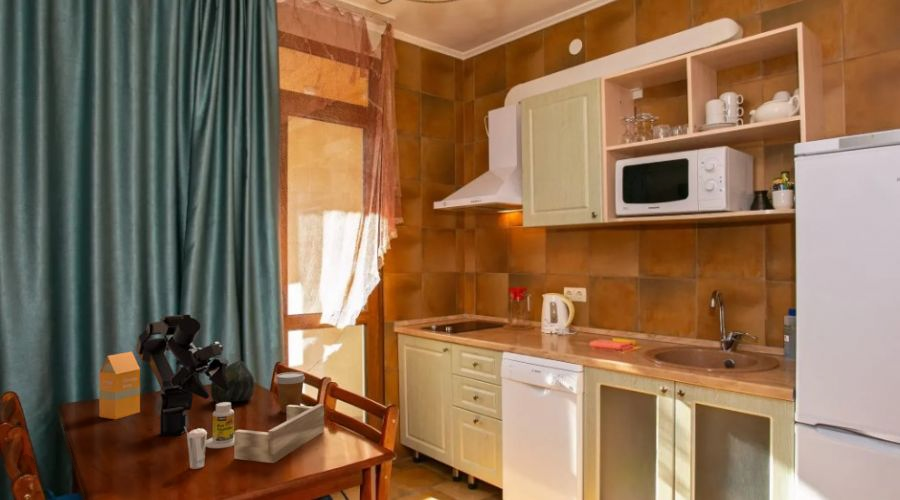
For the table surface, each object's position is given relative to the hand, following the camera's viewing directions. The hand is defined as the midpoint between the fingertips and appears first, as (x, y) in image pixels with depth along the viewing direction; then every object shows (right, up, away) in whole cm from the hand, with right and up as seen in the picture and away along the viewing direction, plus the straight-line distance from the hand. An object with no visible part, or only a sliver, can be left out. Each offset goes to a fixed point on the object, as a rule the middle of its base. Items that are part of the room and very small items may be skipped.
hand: (218, 394), depth 155 cm
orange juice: (-43, -14, +26) cm, 52 cm away
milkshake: (+2, -13, -19) cm, 23 cm away
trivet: (+2, -13, -1) cm, 13 cm away
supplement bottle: (+2, -13, -1) cm, 13 cm away
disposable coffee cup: (+12, -13, +30) cm, 35 cm away
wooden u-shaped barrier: (+19, -13, -3) cm, 23 cm away
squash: (-12, -14, +41) cm, 45 cm away
